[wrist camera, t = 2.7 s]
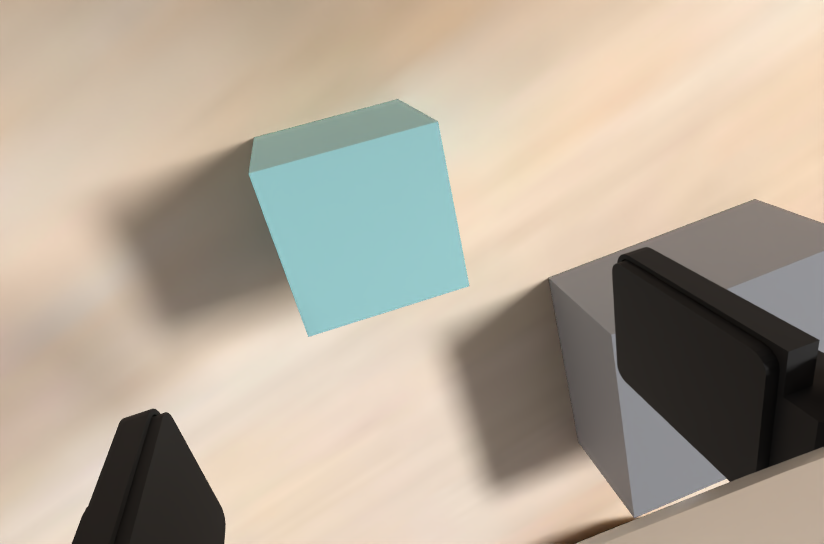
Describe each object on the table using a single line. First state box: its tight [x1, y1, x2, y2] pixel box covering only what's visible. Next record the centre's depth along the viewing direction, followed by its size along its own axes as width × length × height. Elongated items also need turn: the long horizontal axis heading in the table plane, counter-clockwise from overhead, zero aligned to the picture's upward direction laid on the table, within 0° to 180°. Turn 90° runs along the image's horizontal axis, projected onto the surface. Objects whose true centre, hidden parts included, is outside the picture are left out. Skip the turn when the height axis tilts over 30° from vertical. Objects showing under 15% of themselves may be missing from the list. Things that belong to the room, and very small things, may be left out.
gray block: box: [549, 199, 824, 518], centre depth 28 cm, size 12×12×6 cm
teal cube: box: [248, 99, 469, 337], centre depth 20 cm, size 6×6×6 cm
